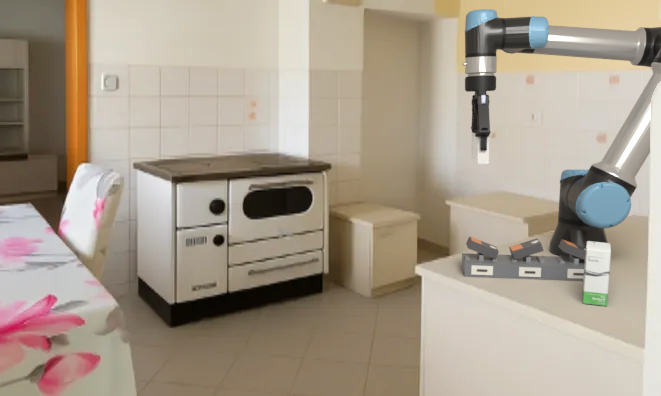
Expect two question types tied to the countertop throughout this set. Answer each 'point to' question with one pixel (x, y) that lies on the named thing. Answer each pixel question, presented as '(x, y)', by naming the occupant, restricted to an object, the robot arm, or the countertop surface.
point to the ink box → (596, 273)
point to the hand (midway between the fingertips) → (479, 160)
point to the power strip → (524, 267)
